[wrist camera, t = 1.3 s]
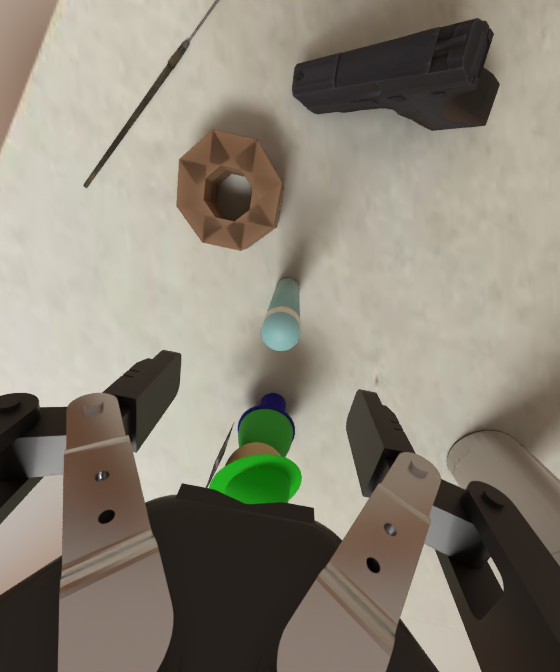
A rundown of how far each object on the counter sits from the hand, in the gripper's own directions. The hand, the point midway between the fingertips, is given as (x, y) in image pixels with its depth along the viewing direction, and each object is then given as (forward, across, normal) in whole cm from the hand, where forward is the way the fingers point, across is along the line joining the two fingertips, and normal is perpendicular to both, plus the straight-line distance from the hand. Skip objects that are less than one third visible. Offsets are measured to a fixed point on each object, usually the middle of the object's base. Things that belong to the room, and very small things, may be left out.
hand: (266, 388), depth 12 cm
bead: (+20, +6, -8) cm, 23 cm away
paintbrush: (+21, +15, -16) cm, 30 cm away
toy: (+21, -1, +17) cm, 27 cm away
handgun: (+21, -5, -18) cm, 28 cm away
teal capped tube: (+20, 0, 0) cm, 20 cm away
